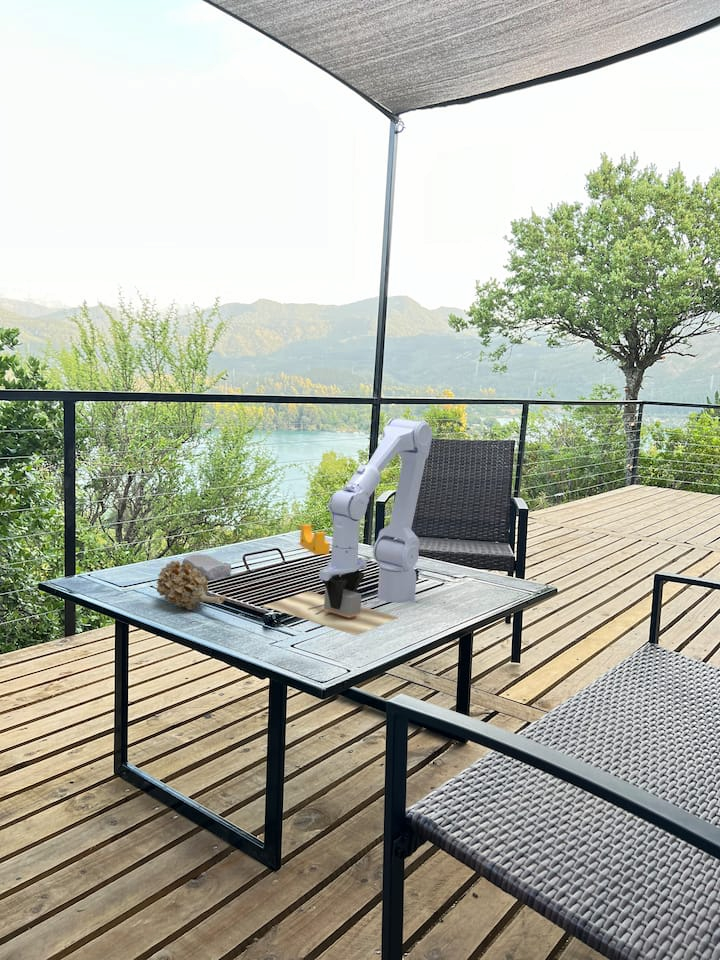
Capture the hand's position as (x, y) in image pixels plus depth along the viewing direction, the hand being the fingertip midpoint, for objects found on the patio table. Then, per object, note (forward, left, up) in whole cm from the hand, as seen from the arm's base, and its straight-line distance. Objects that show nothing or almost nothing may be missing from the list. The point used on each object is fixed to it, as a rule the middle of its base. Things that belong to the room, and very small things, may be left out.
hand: (341, 605), depth 173 cm
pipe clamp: (-46, -45, -4) cm, 64 cm away
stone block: (-5, -47, -4) cm, 48 cm away
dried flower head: (+18, -28, -4) cm, 33 cm away
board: (0, -3, -4) cm, 5 cm away
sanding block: (0, 0, -1) cm, 1 cm away
